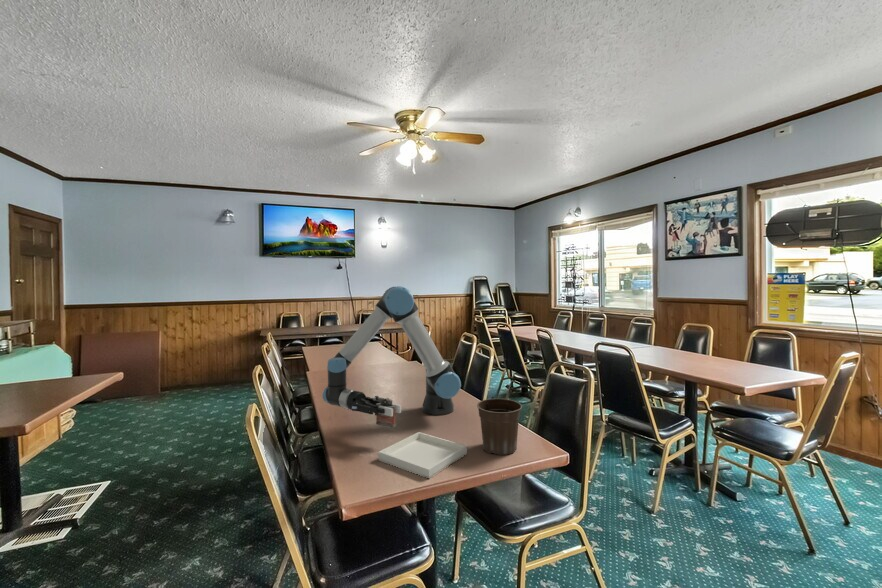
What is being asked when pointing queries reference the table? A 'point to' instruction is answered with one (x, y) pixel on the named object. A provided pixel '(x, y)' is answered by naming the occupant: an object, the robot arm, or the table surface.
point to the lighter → (384, 419)
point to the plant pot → (499, 425)
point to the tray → (422, 454)
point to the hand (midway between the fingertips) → (396, 410)
